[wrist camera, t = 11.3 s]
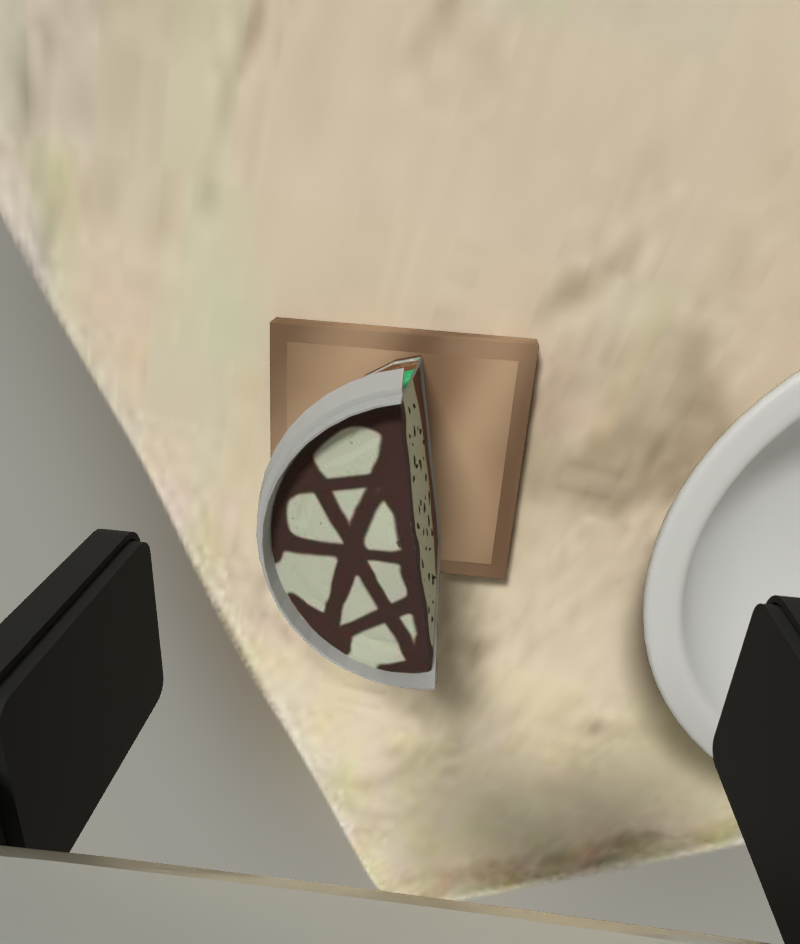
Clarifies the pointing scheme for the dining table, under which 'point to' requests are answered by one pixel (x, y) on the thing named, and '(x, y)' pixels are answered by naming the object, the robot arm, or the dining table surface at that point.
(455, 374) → the board
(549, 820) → the dining table surface
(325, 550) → the food container
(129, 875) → the robot arm
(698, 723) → the soup bowl
